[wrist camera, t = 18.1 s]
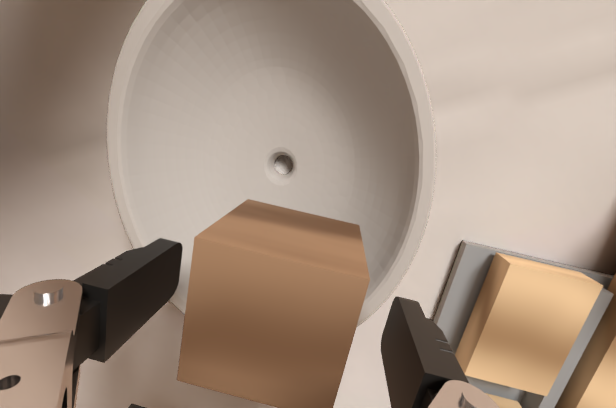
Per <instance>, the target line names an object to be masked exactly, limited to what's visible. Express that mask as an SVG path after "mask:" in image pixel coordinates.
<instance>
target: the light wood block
mask: <svg viewBox="0 0 616 408" xmlns="http://www.w3.org/2000/svg"><path fill="white" fill-rule="evenodd" d="M602 288H603V285H602V284H600V283H598V282H596V281H595V280H593V279H591V278H590V277H588V276H586V275H584V274H583V273H581V272H578V271H573V270H569V269H565V268H561V267H556V266H552V265H548V264H544V263H539V262H535V261H531V260H527V259H522V258H518V257H514V256H510V255H505V254H501V253H497V252H496V253H495V256H494V258H493V261H492V263H491V266H490V268H489V271H488V273H487V276H486V278H485V281H484V283H483V286H482V288H481V291H480V293H479V296H478V298H477V301H476V303H475V306H474V308H473V311H472V313H471V316H470V318H469V321H468V323H467V326H466V328H465V331H464V333H463V336H462V338H461V341H460V343H459V346H458V348H457V351H456V353H455V356H456V358H457V360H458V362H459V364H460V366H461V368H462V370H463V372H464V374H465V375H466V376H470V377H474V378H477V379H481V380H485V381H489V382H493V383H497V384H501V385H505V386H509V387H512V388H516V389H520V390H524V391H528V392H532V393H536V394H540V395H543V396H547V395H548V393H549V391H550V389H551V387H552V385H553V383H554V381H555V379H556V378H557V376H558V374H559V372H560V370H561V368H562V366H563V364H564V362H565V360H566V358H567V356H568V354H569V352H570V350H571V348H572V346H573V344H574V342H575V340H576V338H577V336H578V334H579V333H580V331H581V329H582V327H583V325H584V323H585V321H586V319H587V317H588V315H589V313H590V311H591V309H592V307H593V305H594V303H595V301H596V299H597V297H598V295H599V293H600V291H601V289H602Z"/></svg>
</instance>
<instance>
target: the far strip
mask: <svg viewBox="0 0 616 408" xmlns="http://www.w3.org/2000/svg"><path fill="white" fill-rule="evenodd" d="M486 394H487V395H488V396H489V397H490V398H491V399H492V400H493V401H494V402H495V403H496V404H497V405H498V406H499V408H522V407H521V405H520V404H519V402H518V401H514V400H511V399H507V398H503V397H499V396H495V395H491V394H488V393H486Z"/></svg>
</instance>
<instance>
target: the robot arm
mask: <svg viewBox="0 0 616 408" xmlns="http://www.w3.org/2000/svg"><path fill="white" fill-rule="evenodd" d="M182 250H183V247H182V244H181V243H180V242H175V241H171V240H167V239H163V238H159V239H157V240H155V241H154V242H152V243H150V244H149V245H147V246H145V247H140V248H137V249H133V250H129V251H126V252H124V253H123V254H121V255H119V256H117V257H115V259H112V260H110V261H108V262H106V264H103V265H101V266H99V267H97V268H95V269H94V270H92V271H90V272H88V273H86V274H85V275H83V276H81V277H79V278H77V279H76V280H74V281H71V280H66V279H52V280H45V281H40V282H36V283H32V284H30V285H27V286H25V287H23V288H21V289H19V290H18V291H16V292H15V293H14V294H13V295H5V294H0V408H76V400H77V393H78V385H79V378H80V364H82V363H83V362H84V361H85V360H86V359H87V358H89V359H93V360H97V361H100V362H104V363H105V362H106V361H107V360H108V359H109V358H110V357H111V356H112V355H113V354H114V353H115V352H116V351H117V350H118V349H119V348H120V347H121V346H122V345H123V344H124V343H125V342H126V341H127V340H128V339H129V338H130V337H131V336H132V335H133V334H134V333H135V332H136V331H137V330H138V329H140V328H141V327H142V326H143V325H144V324H145V323H146V322H147V321H148V320H149V319H150V318H151V317H152V316H153V315H154V314H155V313H156V312H157V311H158V310H159V309H160V308H161V307H162V306H163V305H164V304H165V303H166V302H167V301H168V300H169V299H170V298H171V297H172V296H173V295H174V293H175V291H176V289H177V287H178V283H179V277H180V268H181V259H182ZM381 354H382V359H383V365H384V370H385V375H386V381H387V386H388V391H389V397H390V402H391V408H499V406H498V405H497V404H496V403H495V402H494V401H493V400H492V399H491V398H490V397H489V396H488V395H487V394H486V393H484V392H483V391H481V390H480V389H478V388H477V387H475V386H473V385H471V384H469V382H468V380H467V378H466V376H465V374H464V372H463V370H462V368H461V366H460V364H459V362H458V360H457V358H456V356H455V355H454V354H453V351H452V349H451V347H450V345H449V344H448V341H447V339H446V337H445V335H444V333H443V331H442V330H441V329H440V328H439V327H438V326H437V325H436V324H435V323H434V322H433V321H432V320H431V319H428V318H426V317H425V315H424V313H423V311H422V309H421V307H420V304H419V303H418V302H417V301H413V300H409V299H405V298H401V297H395V299H394V300H393V303H392V306H391V309H390V312H389V315H388V319H387V322H386V325H385V328H384V331H383V335H382V340H381ZM128 408H145V407H141V406H138V405H134V404H131V405H130V406H129V407H128Z"/></svg>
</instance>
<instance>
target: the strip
mask: <svg viewBox="0 0 616 408" xmlns="http://www.w3.org/2000/svg"><path fill="white" fill-rule="evenodd" d="M607 290H608V291H609V292H611V293H613V294H614V295H613V297H612V299H611V301H610V303H609V305H608V307H607V308H606V310H605V312H604V314H603V316H602V318H601V320H600V322H599V324H598V326H597V327H596V329H595V331H594V333H593V335H592V337H591V339H590V341H589V343H588V345H587V347H586V348H585V350H584V352H583V354H582V356H581V358H580V360H579V362H578V364H577V366H576V367H575V369H574V371H573V373H572V375H571V377H570V379H569V381H568V383H567V385H566V387H565V388H564V390H563V392H562V394H561V396H560V398H559V400H558V402H557V404H556V406H555V407H554V408H616V273H615V275H614V277H613V279H612V281H611V283H610V285H609V287H608V289H607Z"/></svg>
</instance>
